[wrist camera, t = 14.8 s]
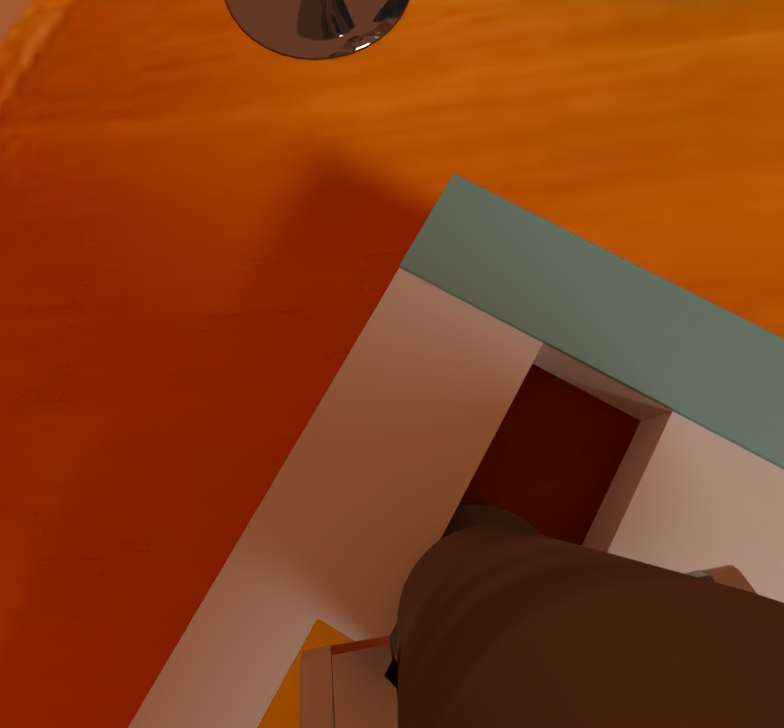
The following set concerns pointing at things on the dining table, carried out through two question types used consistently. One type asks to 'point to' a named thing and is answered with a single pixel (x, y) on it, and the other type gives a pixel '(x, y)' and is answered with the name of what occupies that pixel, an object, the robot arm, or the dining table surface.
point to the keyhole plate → (475, 433)
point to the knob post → (576, 638)
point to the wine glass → (316, 24)
